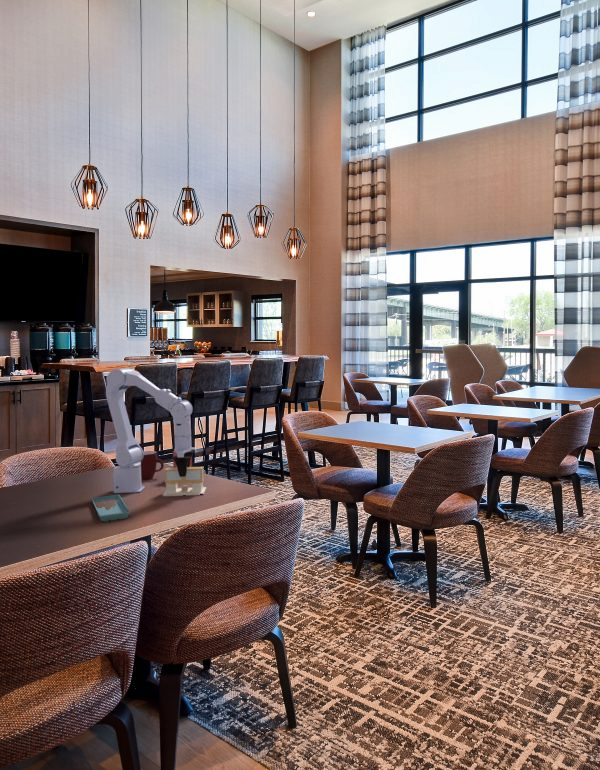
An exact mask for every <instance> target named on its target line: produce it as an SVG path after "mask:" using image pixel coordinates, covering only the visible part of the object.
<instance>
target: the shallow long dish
mask: <svg viewBox="0 0 600 770" xmlns="http://www.w3.org/2000/svg"><path fill="white" fill-rule="evenodd" d="M90 500H91V502H92V503H93V506H94V508H95V510H96V512H97V515H98V517H99V520H100V521H101V522H102V521H104V522H110V521H109V520H111V521H117V519H119V520H125V519H128V517H129V515H130V514H131V511H130V509H129V508H128V506H127V505H126V504H125V502H124V500H123V498H122V497H121V495H120V494H113V495H107V496H106V495H105V496H98V497H91V498H90ZM109 500H117V501H118V502H117V503H115V504H116V505H115V507H114V506H113V507H114V508H113V507H111V508H110V509H109V510H106V509H105V507H102V508H97V507H96V505H95V502H102V501H109ZM104 504H105V503H104Z"/></svg>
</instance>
